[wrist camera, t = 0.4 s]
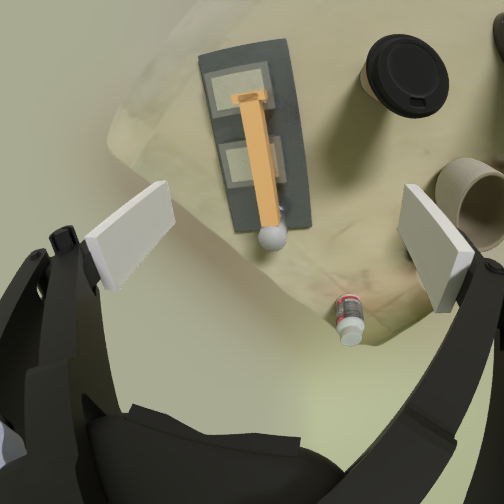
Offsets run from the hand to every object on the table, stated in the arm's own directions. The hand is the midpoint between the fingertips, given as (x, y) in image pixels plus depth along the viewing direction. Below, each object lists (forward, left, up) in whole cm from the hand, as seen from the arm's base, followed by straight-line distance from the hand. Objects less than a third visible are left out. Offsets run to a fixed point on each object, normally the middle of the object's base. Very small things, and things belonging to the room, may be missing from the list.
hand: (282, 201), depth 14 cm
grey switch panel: (+6, +1, -28) cm, 29 cm away
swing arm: (+5, +5, -23) cm, 24 cm away
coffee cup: (-13, -7, -29) cm, 32 cm away
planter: (-27, +10, -29) cm, 40 cm away
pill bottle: (-7, +34, -29) cm, 45 cm away
